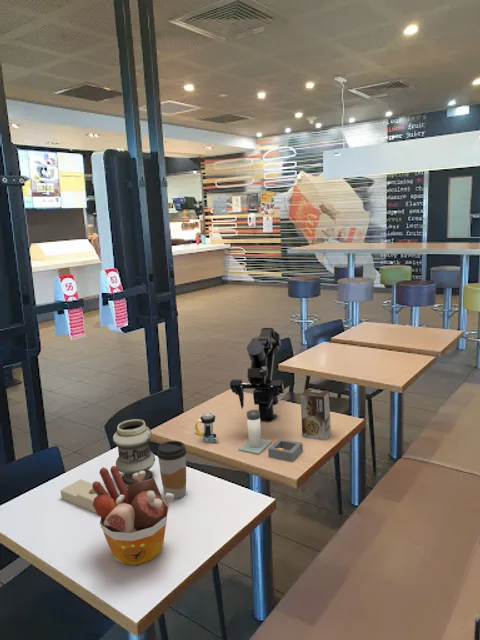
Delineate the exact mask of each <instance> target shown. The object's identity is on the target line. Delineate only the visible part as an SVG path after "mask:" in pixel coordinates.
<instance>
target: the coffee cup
mask: <svg viewBox="0 0 480 640" xmlns="http://www.w3.org/2000/svg"><path fill="white" fill-rule="evenodd" d="M156 451H157V452H156V453H157V454H156V455H157V458H158V464H159V471H160V472H159V473H160V477H161V484H162V488H163V495H164V496H165V495H166V493H171V494H174V498H173V500H172V501H174V500H179V499H183V498H184V497H185V495H186V493H187V459H186V458H187V457H186V455H187V448H186V446H185V444H184V443H183V442H182V441H179V440H170V441H165V442H163V443H161V444H159V446H158V448H157V450H156Z"/></svg>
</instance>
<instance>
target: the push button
mask: <svg viewBox="0 0 480 640" xmlns="http://www.w3.org/2000/svg"><path fill="white" fill-rule="evenodd" d="M199 419H201V421H202V423H201V424H203V428H204V429H203V430H204V431H203V432H202V433H203V435H202V441H203V442H206V443H212V444H213V443H216V442H217V443H219V438H217V434H216V433H215V432H214V423H215V421H216V416H215V414H213V413H212V412H206V413H203V414H202V415H201V416H200V418H199Z"/></svg>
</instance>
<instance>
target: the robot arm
mask: <svg viewBox="0 0 480 640" xmlns="http://www.w3.org/2000/svg"><path fill="white" fill-rule="evenodd" d="M281 340H282V339H281V335H280V333H278V332H277V331H275V329H274V328H273V327H263V328H261V331H260V333H259V335H258V336H257V337H256V336H255V337H253V338H252V339H251V341H250V342H249V343H248V344H247V347H246V351H247V354H248V357H249V359H250V368H249V367H248V368H247V376H246V377H247V382H244V381H243V380H242V379H233V378H232V379H231V381H229V387H230V390H231V391H232V393H234V394H235V395H237V396H238V399H239V404H240V408H241V409H244V405H245V404H244V402H245V399H244V398H245V396H244V395H245V394H244V389H245V390H246V389H248V390H249V389H250V390H251V389H252V390H253V392H252V394H253V405H255V406H256V405H258V411H260V421H266V422H272V421H273V420H274V419H275V418H277V416H278V414H275V413H274V406H276V405H278V404H279V399H278V396H280V395H281V394H283V393H284V390H285V386H284V381H283V380H282V379H273V370H274V361H275V357H276V355H277V354H278V353H279V351H280V347H281V345H282V344H281V343H282V341H281Z"/></svg>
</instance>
